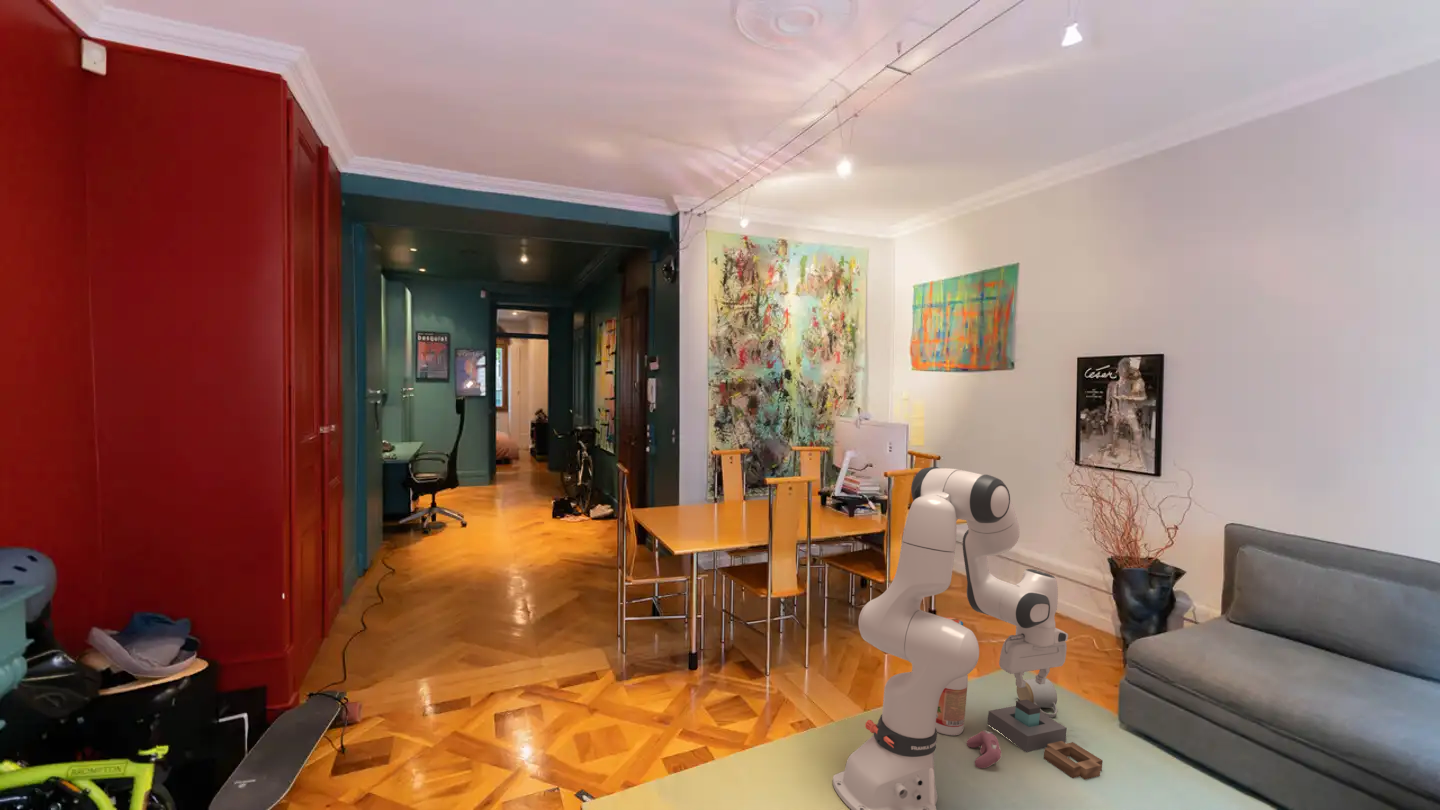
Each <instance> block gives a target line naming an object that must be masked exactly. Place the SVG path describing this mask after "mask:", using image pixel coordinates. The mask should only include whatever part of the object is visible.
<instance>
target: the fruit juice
mask: <svg viewBox="0 0 1440 810" xmlns="http://www.w3.org/2000/svg"><path fill="white" fill-rule="evenodd" d="M946 618H947V619H951V620H953V621H955V622H957V623H959V624H961V625H962V626H964V622H963V621H962V620H960V619H958V618H955V617H949V616H947V617H946ZM968 682H969V675H968V674H967V675H966V676H963V677H960V678H958V679H955V680H954V681H952V682H951V683H949V684H948V685H947V686H946V687H945V689H944V690H943V692H942V694H941V696H940V699H939V704H938V710H937V716H936V725H935V727H936V730H937V733H940V734H942V735H946V736H959V735H961V734H962V733H963V731H964V727H965V718H966V705H967V696H968V695H967V692H968V686H969V683H968Z"/></svg>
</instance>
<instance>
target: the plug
mask: <svg viewBox="0 0 1440 810" xmlns="http://www.w3.org/2000/svg"><path fill="white" fill-rule="evenodd" d="M1015 706H1016V708H1015V719H1017V720H1018V721H1020V722H1021V723H1023V724H1025V725H1026V726H1028V727H1032V726H1037V725H1039V717H1040V709H1041V708H1040V707H1039V706H1038V705H1036V704H1034V703H1032V702H1031V701H1029V700H1027V699H1026V700H1021V701H1020V700H1016V701H1015Z"/></svg>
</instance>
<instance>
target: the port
mask: <svg viewBox="0 0 1440 810" xmlns="http://www.w3.org/2000/svg"><path fill="white" fill-rule="evenodd" d="M1015 708H1016V705H1013V706H1008V707H1007V706H1006V707H1003V708H1002V707H1000V708H996V709H992V710H988V714H987V724H988V725H990V726H991V727H993V728H994V729H996V730H998V731H999V732H1000V733H1002V734H1003V735H1004V736H1005V737H1007V738H1008V739H1010V740H1011V741H1012V742H1013V743H1015V744H1016V745H1017V747H1018V748H1019V749H1020V750H1022V751H1024V752H1025V753H1030V752H1034V751H1038V750H1042V749H1045V748H1047V744H1050V743H1054V742H1059V741H1063V742H1064V743H1066V742H1067V727H1066V726H1065V725H1063V724H1061V723H1059V722H1058V721H1056V720H1054V719H1053V718H1050V717H1048V716H1046V715H1044V714H1043V713H1041V712H1040V717H1039V725H1037V726H1032V727H1028V726H1026V725H1025V724H1023V723H1021V722H1020V721H1018V720H1017V719H1015ZM987 724H986V725H987ZM1005 737H1004V738H1005ZM1008 739H1007V740H1008ZM1011 741H1010V742H1011ZM1012 742H1011V743H1012ZM1013 743H1012V744H1013ZM1015 744H1014V745H1015ZM1066 744H1067V743H1066ZM1016 745H1015V746H1016Z"/></svg>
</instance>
